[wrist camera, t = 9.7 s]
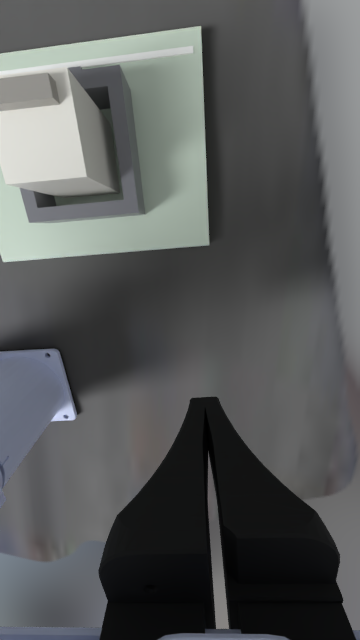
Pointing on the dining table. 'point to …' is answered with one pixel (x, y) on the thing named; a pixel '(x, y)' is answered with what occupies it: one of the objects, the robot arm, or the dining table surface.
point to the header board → (123, 151)
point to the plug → (54, 136)
